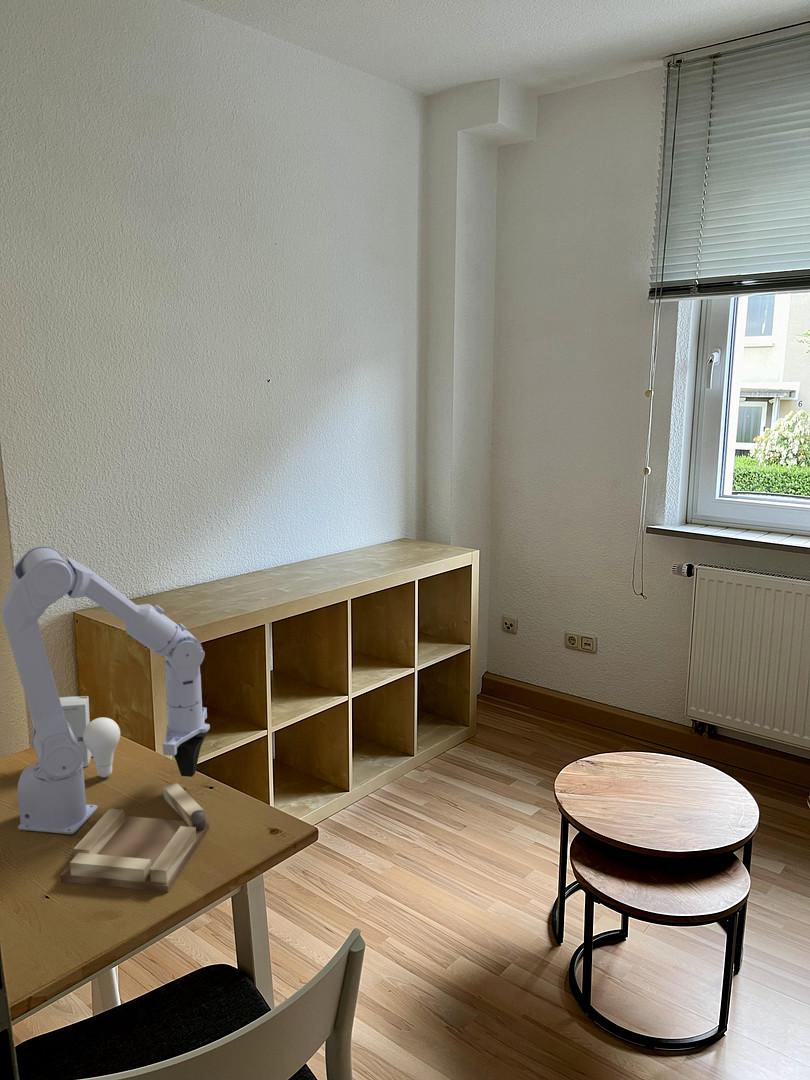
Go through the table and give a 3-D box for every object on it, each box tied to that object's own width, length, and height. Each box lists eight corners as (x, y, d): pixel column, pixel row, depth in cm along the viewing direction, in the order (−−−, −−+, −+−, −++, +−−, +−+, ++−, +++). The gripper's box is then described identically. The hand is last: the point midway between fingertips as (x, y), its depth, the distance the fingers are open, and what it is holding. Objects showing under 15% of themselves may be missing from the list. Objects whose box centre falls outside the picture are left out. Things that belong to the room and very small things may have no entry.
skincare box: (53, 770, 151) (47, 707, 149) (58, 758, 156) (52, 697, 153) (89, 767, 153) (84, 704, 150) (93, 755, 157) (88, 694, 154)
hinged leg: (209, 826, 132) (208, 813, 131) (194, 831, 130) (194, 818, 130) (177, 793, 142) (176, 781, 141) (163, 797, 140) (162, 785, 140)
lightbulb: (111, 787, 146) (107, 728, 143) (79, 783, 147) (74, 724, 144) (129, 770, 152) (125, 713, 149) (98, 766, 153) (94, 710, 150)
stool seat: (60, 881, 120) (58, 862, 119) (113, 820, 136) (112, 803, 135) (168, 892, 118) (166, 873, 117) (209, 828, 134) (208, 811, 133)
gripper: (190, 720, 135) (194, 798, 138) (222, 685, 149) (225, 756, 152) (148, 717, 136) (153, 794, 139) (183, 682, 150) (187, 753, 153)
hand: (188, 774), depth 145 cm, fingers closed
